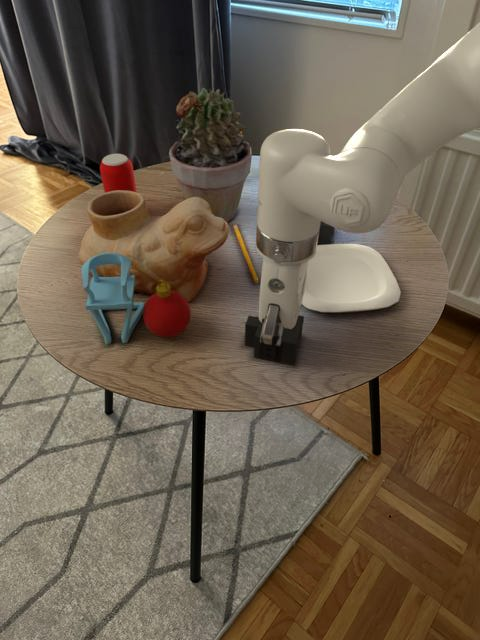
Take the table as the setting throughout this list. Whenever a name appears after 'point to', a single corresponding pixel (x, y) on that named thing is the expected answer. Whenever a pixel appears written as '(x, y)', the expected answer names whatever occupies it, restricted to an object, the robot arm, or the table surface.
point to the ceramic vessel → (154, 241)
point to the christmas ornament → (166, 312)
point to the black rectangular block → (289, 336)
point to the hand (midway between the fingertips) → (277, 335)
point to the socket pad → (325, 234)
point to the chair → (111, 293)
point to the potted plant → (211, 152)
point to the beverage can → (117, 173)
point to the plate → (349, 280)
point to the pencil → (246, 254)
